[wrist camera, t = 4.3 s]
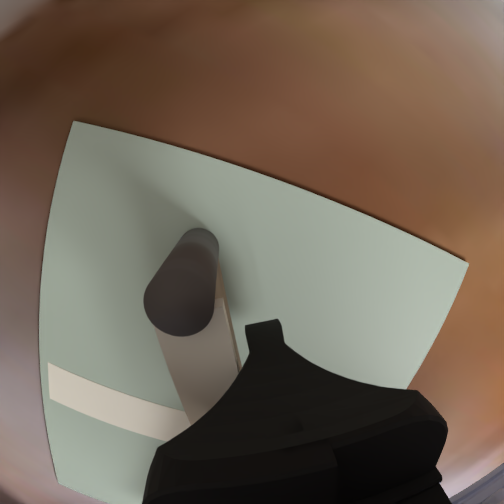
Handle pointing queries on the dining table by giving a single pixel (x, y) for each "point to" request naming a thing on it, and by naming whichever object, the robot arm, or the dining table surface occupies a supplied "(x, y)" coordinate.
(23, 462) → the dining table surface
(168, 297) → the hinged fence section
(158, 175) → the card
